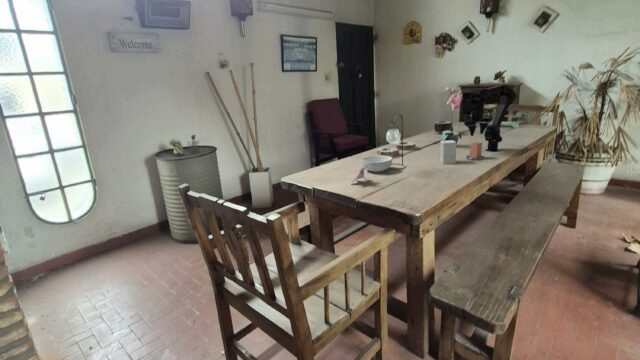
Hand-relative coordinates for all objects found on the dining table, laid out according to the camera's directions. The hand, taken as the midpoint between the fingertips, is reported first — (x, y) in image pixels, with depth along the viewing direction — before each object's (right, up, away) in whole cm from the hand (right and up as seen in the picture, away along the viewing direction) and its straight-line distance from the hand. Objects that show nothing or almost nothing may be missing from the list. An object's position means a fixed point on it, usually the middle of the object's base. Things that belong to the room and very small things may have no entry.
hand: (476, 135), depth 211 cm
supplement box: (-23, -18, -12) cm, 32 cm away
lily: (-77, -30, -39) cm, 92 cm away
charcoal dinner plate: (-4, -15, -7) cm, 17 cm away
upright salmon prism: (-4, -14, -7) cm, 16 cm away
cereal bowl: (-66, -23, -19) cm, 72 cm away
